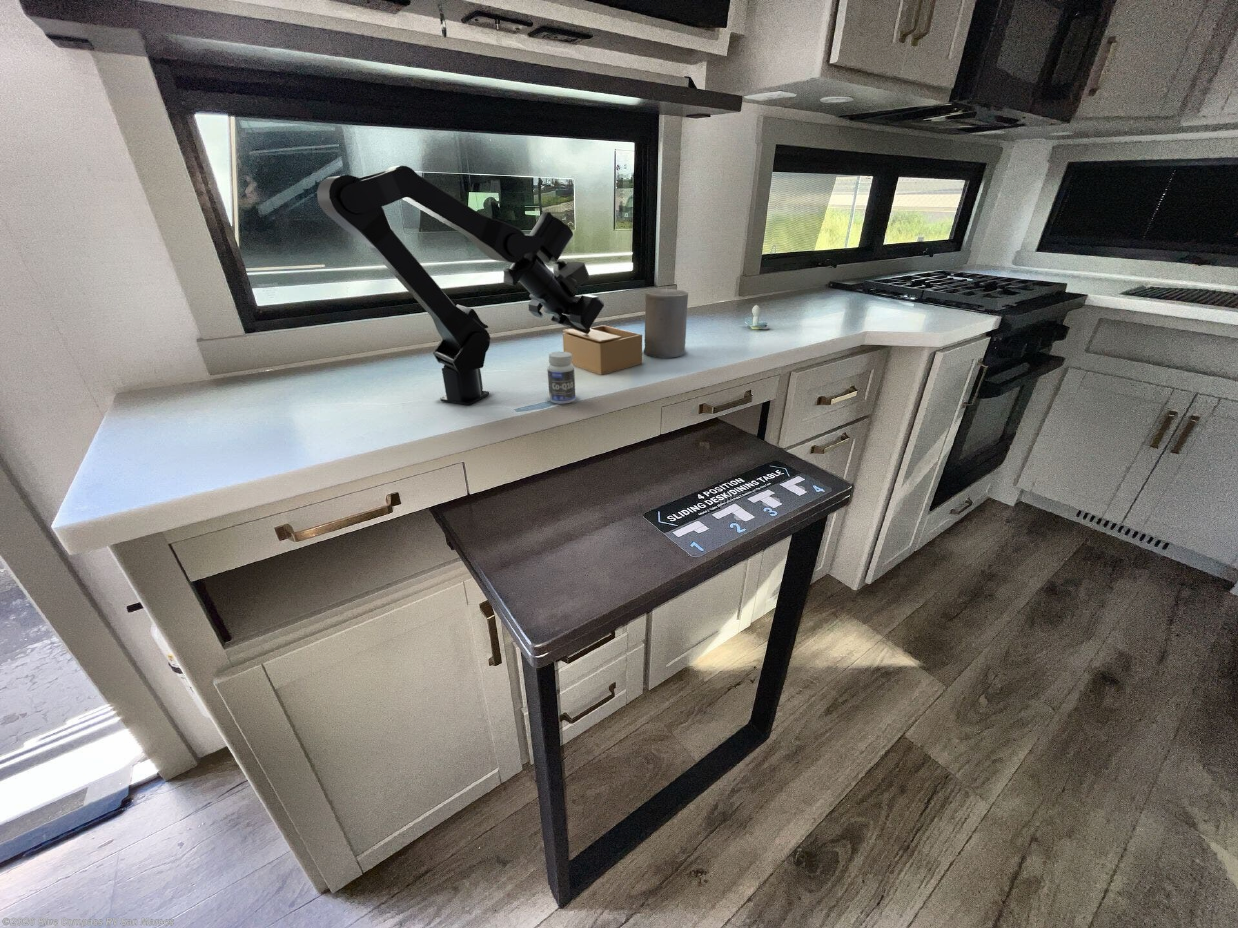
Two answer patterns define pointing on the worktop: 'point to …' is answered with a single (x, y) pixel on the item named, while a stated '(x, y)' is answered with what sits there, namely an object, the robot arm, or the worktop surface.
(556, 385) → the pill bottle
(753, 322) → the pacifier
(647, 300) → the pillar candle
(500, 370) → the worktop surface
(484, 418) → the worktop surface
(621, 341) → the carton
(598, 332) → the flap
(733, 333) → the worktop surface
